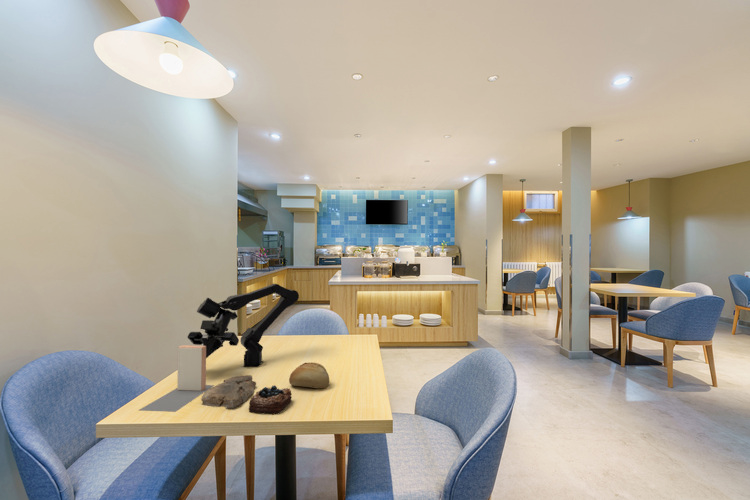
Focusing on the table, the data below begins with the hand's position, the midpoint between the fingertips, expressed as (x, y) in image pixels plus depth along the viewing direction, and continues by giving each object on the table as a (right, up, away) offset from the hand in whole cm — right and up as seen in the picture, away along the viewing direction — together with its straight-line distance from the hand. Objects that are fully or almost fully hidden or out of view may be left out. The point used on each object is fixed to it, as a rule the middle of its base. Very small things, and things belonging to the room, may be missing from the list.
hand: (203, 358), depth 119 cm
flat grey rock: (+16, -9, -11) cm, 22 cm away
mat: (-1, -9, -13) cm, 16 cm away
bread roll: (+41, -9, -4) cm, 42 cm away
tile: (0, -8, -7) cm, 11 cm away
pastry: (+31, -9, -19) cm, 38 cm away
